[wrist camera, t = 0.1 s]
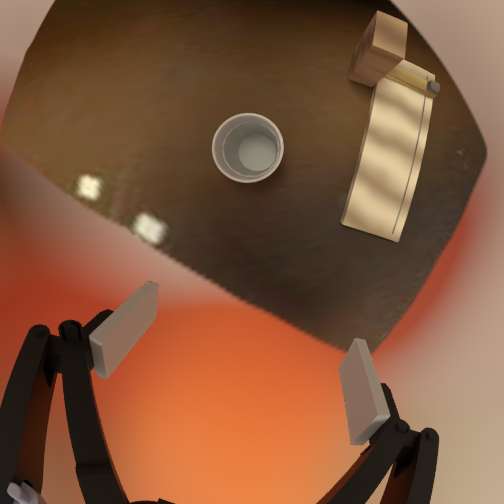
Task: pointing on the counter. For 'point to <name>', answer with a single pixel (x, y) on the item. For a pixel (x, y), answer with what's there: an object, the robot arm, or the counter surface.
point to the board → (389, 157)
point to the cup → (247, 147)
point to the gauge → (386, 56)
